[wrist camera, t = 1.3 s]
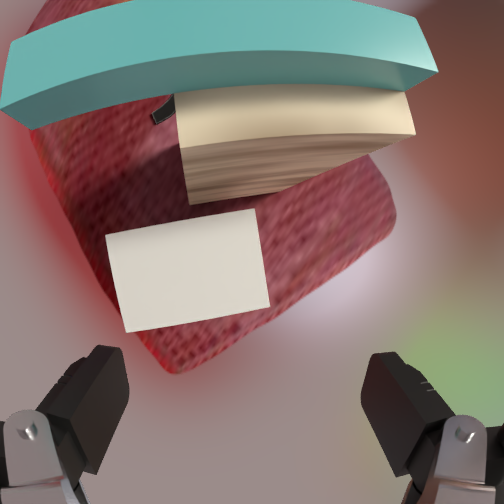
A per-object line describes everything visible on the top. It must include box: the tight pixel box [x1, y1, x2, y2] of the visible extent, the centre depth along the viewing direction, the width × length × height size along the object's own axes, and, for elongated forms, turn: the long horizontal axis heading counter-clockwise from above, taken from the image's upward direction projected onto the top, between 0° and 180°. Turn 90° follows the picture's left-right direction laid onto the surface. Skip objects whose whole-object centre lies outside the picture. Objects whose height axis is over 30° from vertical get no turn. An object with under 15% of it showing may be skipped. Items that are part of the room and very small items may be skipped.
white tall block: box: [105, 209, 270, 333], centre depth 34 cm, size 8×12×22 cm, turn 99°
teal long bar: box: [0, 0, 438, 130], centre depth 12 cm, size 4×22×4 cm, turn 100°
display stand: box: [174, 84, 416, 205], centre depth 30 cm, size 10×14×32 cm
